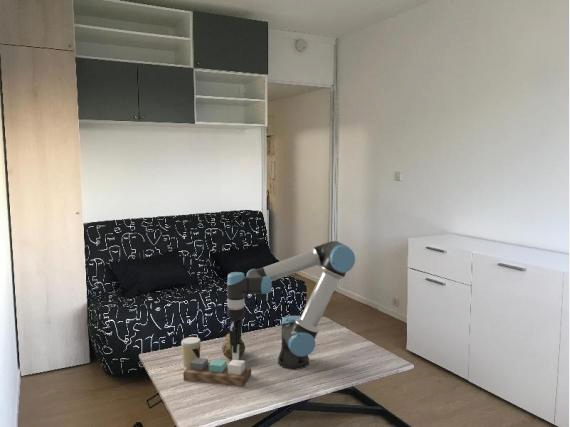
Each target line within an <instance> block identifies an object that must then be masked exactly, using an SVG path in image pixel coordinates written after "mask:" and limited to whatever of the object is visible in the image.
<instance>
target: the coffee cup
mask: <svg viewBox="0 0 570 427" xmlns="http://www.w3.org/2000/svg"><path fill="white" fill-rule="evenodd" d="M201 343H202V342H201V338H199V337H194V336H189V337H185V338H183V339H182V340H181V342H180V344H181V355H182V363H183V366H184V367H185V368H188V367H189V366H190V363H191V362H192V361H193V360H194V359H195V358H201Z"/></svg>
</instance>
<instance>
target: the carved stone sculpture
mask: <svg viewBox="0 0 570 427" xmlns="http://www.w3.org/2000/svg"><path fill="white" fill-rule="evenodd" d="M224 338H225V339H224V341H223V342H222V346H221V349H222V350H221V351H222V354H223V355H224V357H226V358H228V359H230V360H232V346H231V345H230V335H229V333H227V334H226V335H225V337H224ZM240 342H241V344H239V359H240V358H241V357H242V356H243V355H244V354H245V351H246V345H245V342H244V341H243V340H242V338H241V341H240Z"/></svg>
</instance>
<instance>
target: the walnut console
mask: <svg viewBox="0 0 570 427" xmlns="http://www.w3.org/2000/svg"><path fill="white" fill-rule="evenodd" d="M210 363H211V362H208V366H207V368H206V369H205V370H204V371H198V370H190V366H189V367H186V369H184V371H183V381H185V382H187V381H188V382H195V383H204V384H213V385H220V386H231V387H239V388H243V387H244V386H245V385H246V383H247V382H248V381H249V379H250V378H251V377H252V366H247V365H245V371H244V372H243V373H242V375H235V374H228V364H229V363H228V364H227V363H226V369H225V370H224V371H223V372H222V373H216V372H209V364H210Z"/></svg>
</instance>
